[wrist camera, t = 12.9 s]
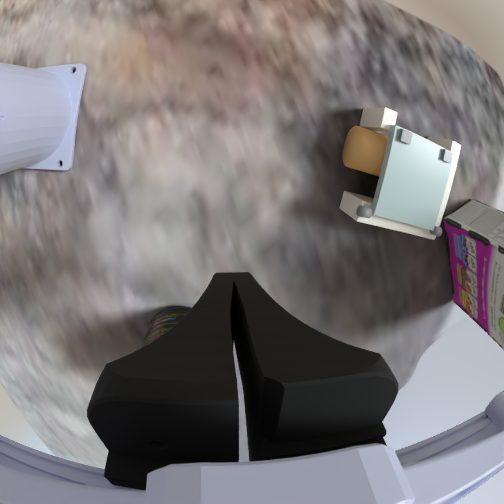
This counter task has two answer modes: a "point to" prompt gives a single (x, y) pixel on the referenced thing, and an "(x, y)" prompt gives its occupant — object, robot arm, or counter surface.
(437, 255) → the counter surface
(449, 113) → the counter surface
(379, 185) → the cover flap
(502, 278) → the candy bar box
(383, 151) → the tan cylinder roller
